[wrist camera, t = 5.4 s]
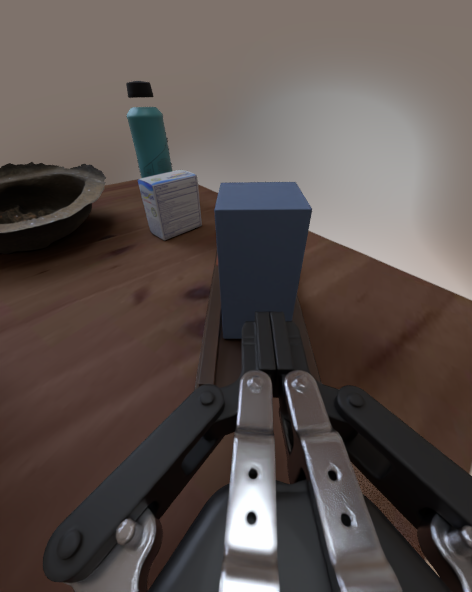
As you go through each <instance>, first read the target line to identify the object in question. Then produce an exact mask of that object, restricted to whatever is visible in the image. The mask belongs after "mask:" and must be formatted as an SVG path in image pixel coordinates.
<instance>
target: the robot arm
mask: <svg viewBox="0 0 472 592" xmlns="http://www.w3.org/2000/svg"><path fill="white" fill-rule="evenodd" d="M272 394H273V397H279V404H280V407H279V417H280V423H281V428H282V433H283V438H284V443H285V449H286V454H287V467H288V476H289V482H290V484H286V483H283V482H280V481H277V480H275V441H274V433H273V413H272ZM233 432H235V434H234V444H233V455H232V466H231V476H230V483H229V484H227V485H225V486H223V487H222V488H220V489H219V490H218V491H217V492H215V493H214V494H213V495H212V496H211V498H210V499H209V500H208V501H207V502H206V504H205V505H204V507H203V508H202V510H201V511H200V513H199V514H198V516H197V517H196V519H195V520H194V522H193V524H192V525H191V527H190V528H189V530H188V531H187V533H186V534H185V536H184V537H183V539H182V540H181V542H180V543H179V545H178V546H177V548H176V549H175V551H174V552H173V554H172V555H171V557H170V559H169V560H168V562H167V563H166V565H165V566H164V568H163V569H162V571H161V572H160V574H159V575H158V577H157V578H156V580H155V581H154V583H153V584H152V586H151V587H150V589H149V590H148V592H472V476H471V475H469V474H468V473H467V472H466V471H464V470H463V469H462V468H461V467H459V466H458V465H457V464H456V463H454V462H453V461H452V460H451V459H449V458H448V457H447V456H446V455H444V454H443V453H442V452H440V451H439V450H438V449H437V448H435V447H434V446H433V445H432V444H430V443H429V442H428V441H427V440H425V439H424V438H423V437H422V436H420V435H419V434H418V433H417V432H415V431H414V430H413V429H412V428H410V427H409V426H408V425H407V424H405V423H404V422H403V421H401V420H400V419H399V418H398V417H396V416H395V415H394V414H393V413H391V412H390V411H389V410H388V409H386V408H385V407H384V406H383V405H381V404H380V403H379V402H378V401H376V400H375V399H374V398H373V397H371V396H370V395H369V394H368V393H366V392H365V391H364V390H362V389H360V388H358V387H356V386H351V385H349V386H344V387H342V388H341V389H340V390H339V389H336V388H332V387H329V386H326V385H323V384H321V383H320V382H318V381H317V380H316V379H315V378H314V377H313V376H312V375H311V373H310V370H309V367H308V363H307V359H306V354H305V350H304V346H303V342H302V338H301V334H300V330H299V328H298V326H297V325H296V324H295V323H294V321H285V317H284V312H255V321H246V322H245V323H244V325H243V327H242V371H241V374H240V377H239V378H238V379H237V380H236V381H235V382H234V383H232V384H230V385H227V386H224V387H221V388H219V387H218V386H216V385H214V384H204V385H201V386H200V387H198V388H197V389H196V390H195V391H194V392H193V393H192V394H191V395H190V396H189V397H188V398H187V399H186V400H185V401H184V402H183V403H182V404H181V405H180V406H179V407H178V408H177V409H176V410H175V411H174V412H173V413H172V414H171V415H170V416H168V417H167V418H166V419H165V420H164V421H163V422H162V423H161V424H160V425H159V426H158V427H157V428H156V429H155V430H154V431H153V432H152V433H151V434H150V435H149V436H148V437H147V438H146V439H145V440H144V441H143V442H142V443H141V444H140V445H139V446H138V447H137V448H136V449H135V450H134V451H133V452H132V453H131V454H130V455H129V456H128V457H127V458H126V459H125V460H124V461H123V462H122V463H121V464H120V465H119V466H118V467H117V468H116V469H115V470H114V471H113V472H112V473H111V474H110V475H109V476H108V477H107V478H106V479H105V480H104V481H103V482H102V483H101V484H100V485H99V486H98V487H97V488H96V489H95V490H94V491H93V492H92V493H91V494H90V495H89V496H88V497H87V498H86V499H85V500H84V501H83V502H82V503H81V504H80V505H79V506H78V507H77V508H76V509H75V510H74V511H73V512H72V513H71V514H70V515H69V516H68V517H67V518H66V519H65V520H64V521H63V522H62V523H61V524H60V525H59V526H58V527H57V529H56V530H55V531H54V533H53V534H52V536H51V537H50V539H49V541H48V543H47V546H46V548H45V552H44V556H43V570H44V573H45V575H46V576H47V578H48V579H50V580H51V581H54V582H63V583H65V584H68V585H70V586H72V587H73V589H74V591H75V592H147V579H148V574H149V570H150V567H151V565H152V563H153V561H154V559H155V557H156V556H157V554H158V552H159V549H160V547H161V544H162V538H163V529H162V525H161V522H160V520H159V519H160V518H161V516H162V515H163V514H164V512H165V511H166V510H167V509H168V507H169V506H170V505H171V504H172V502H173V501H174V500H175V498H176V497H177V496H178V495H179V493H180V492H181V491H182V490H183V488H184V487H185V486H186V484H187V483H188V482H189V481H190V479H191V478H192V477H193V476H194V474H195V473H196V472H197V470H198V469H199V468H200V467H201V465H202V464H203V463H204V462H205V460H206V459H207V458H208V456H209V455H210V454H211V453H212V451H213V450H214V449H215V448H216V446H217V445H218V444H219V442H220V441H221V440H222V439H223V437H224V436H225V435H227V434H230V433H233ZM350 461H351V462H352V463H353V464H354V465H355V466H356V467H357V468H358V469H359V470H360V472H361V473H362V474H363V475H364V476H365V477H366V478H367V479H368V480H369V481H370V482H371V483H372V484H373V485H374V486H375V487H376V488H377V489H378V490H379V491H380V492H381V493H382V494H383V495H384V496H385V497H386V498H387V499H388V500H389V501H390V502H391V503H392V504H393V505H394V506H395V507H396V508H397V510H398V511H399V512H400V513H401V514H402V515H403V516H404V517H405V518H406V519H407V520H408V521H409V522H410V523H411V524H412V525H413V526H414V527H415V528H416V529H417V537H418V542H419V545H420V547H421V550H422V552H423V554H424V556H425V557H426V559H427V560H428V561H429V563H430V564H431V565H432V566H433V568H434V569H435V570H436V572H437V573H438V575H439V576H438V575H437V574H436V573H435V572H434V571H433V570H432V569H431V567H430V566H429V565H428V564H427V563H426V562H425V561H424V559H423V558H422V557H421V556H420V555H419V554H418V553H417V552H416V550H415V549H414V548H413V547H412V546H411V545H410V544H409V542H408V541H407V540H406V539H405V538H404V537H403V536H402V535H401V533H400V532H399V531H398V530H397V529H396V528H395V527H394V525H393V524H392V523H391V522H390V521H389V520H388V519H387V518H386V516H385V515H384V514H383V513H382V512H381V511H380V510H379V509H378V507H377V506H376V505H375V504H374V503H373V502H372V501H370V500H369V499H368V498H367V497H366V496H364V495H363V494H362V492H361V489H360V487H359V484H358V481H357V478H356V476H355V473H354V470H353V467H352V465H351V462H350ZM439 577H440V578H439Z"/></svg>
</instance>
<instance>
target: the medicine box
mask: <svg viewBox="0 0 472 592" xmlns="http://www.w3.org/2000/svg"><path fill="white" fill-rule="evenodd" d="M138 183H139V187H140V191H141V195H142V200H143V203H144V207H145V211H146V215H147V219H148V223H149V227H150V231H151V232H152V234H154V235H156V236H157V237H159V238H161V239H162V240H167V239H170V238H172V237H174V236H177V235H179V234H182V233H185V232H187V231H190V230H192V229H195V228H197V227H200V226H202V221H201V212H200V202H199V191H198V182H197V175H195V174H193V173H190V172H187V171H183V170H177V171H173V172H168V173H163V174H159V175H154V176H150V177H146V178H141V179H139V180H138Z"/></svg>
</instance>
